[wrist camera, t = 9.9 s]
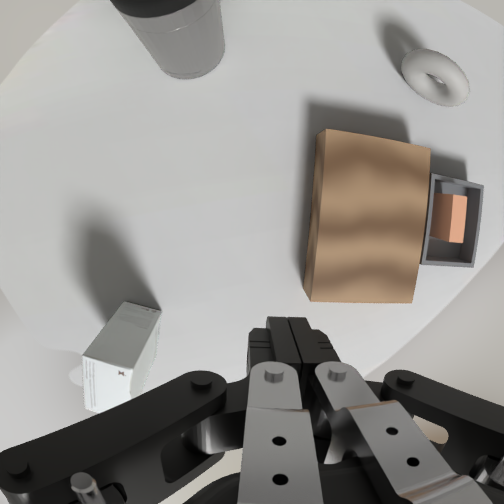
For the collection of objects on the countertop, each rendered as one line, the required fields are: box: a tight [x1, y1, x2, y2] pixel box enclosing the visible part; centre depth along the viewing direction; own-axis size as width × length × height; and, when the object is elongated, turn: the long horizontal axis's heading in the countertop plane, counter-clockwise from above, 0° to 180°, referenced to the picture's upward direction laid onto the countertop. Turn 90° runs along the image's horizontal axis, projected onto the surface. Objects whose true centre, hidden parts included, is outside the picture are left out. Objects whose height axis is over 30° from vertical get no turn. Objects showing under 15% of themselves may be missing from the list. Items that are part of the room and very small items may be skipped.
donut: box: [401, 49, 470, 107], centre depth 32 cm, size 10×3×10 cm, turn 59°
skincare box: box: [82, 301, 162, 413], centre depth 36 cm, size 8×6×15 cm
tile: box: [429, 193, 467, 243], centre depth 37 cm, size 6×6×2 cm
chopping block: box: [303, 129, 431, 303], centre depth 38 cm, size 20×14×5 cm
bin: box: [419, 173, 484, 268], centre depth 39 cm, size 12×10×4 cm
